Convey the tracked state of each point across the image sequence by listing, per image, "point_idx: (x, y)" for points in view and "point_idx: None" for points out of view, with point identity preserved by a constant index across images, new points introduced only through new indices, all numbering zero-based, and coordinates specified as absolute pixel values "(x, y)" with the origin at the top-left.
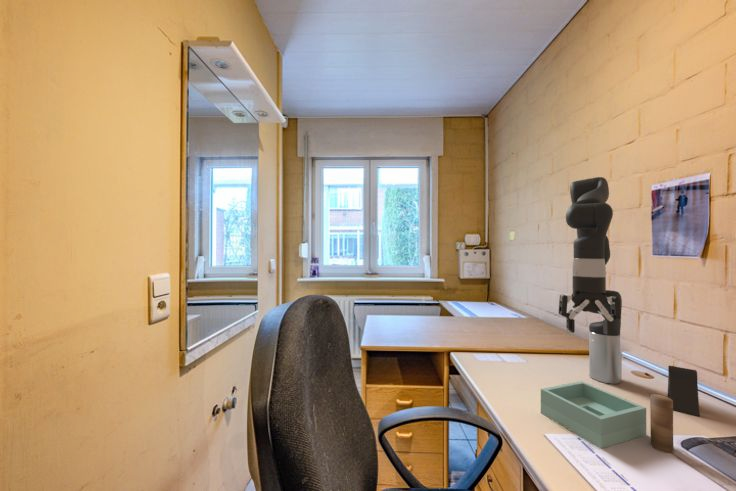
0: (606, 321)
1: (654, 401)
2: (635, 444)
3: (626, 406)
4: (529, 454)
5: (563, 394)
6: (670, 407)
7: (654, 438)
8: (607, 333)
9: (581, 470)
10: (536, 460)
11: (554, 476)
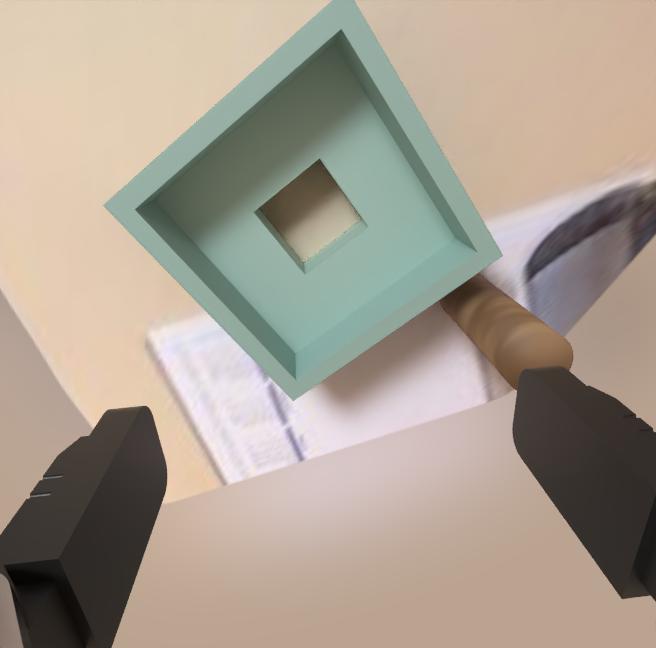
0: (622, 578)
1: (501, 371)
2: None
3: (449, 214)
4: None
5: (225, 134)
6: None
7: (450, 313)
8: (522, 454)
9: (218, 452)
10: None
11: None
